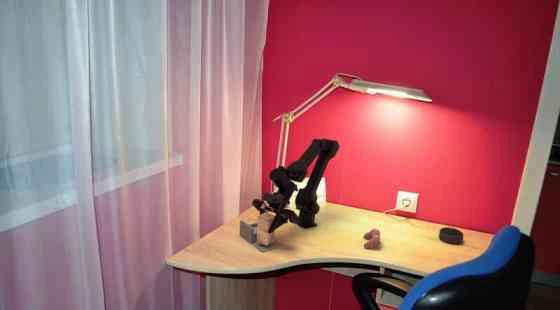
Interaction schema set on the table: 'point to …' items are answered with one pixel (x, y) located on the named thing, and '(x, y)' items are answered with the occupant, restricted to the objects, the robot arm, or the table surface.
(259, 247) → the mat
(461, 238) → the smart speaker
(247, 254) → the table surface
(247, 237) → the tray
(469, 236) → the table surface
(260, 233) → the birch block
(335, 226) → the table surface
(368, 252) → the table surface
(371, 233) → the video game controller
